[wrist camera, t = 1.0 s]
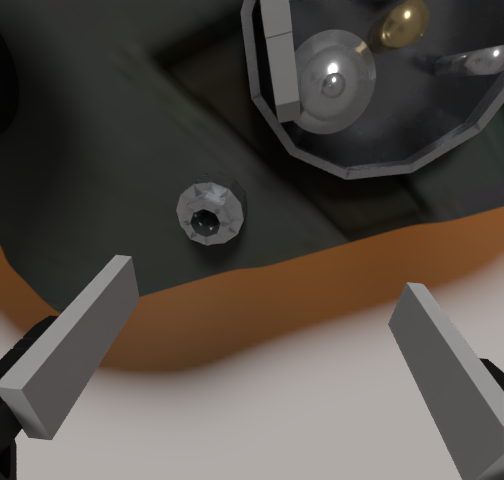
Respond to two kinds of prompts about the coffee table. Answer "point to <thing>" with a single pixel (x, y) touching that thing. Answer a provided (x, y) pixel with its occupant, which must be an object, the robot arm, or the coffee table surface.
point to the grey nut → (212, 208)
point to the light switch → (281, 58)
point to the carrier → (382, 80)
